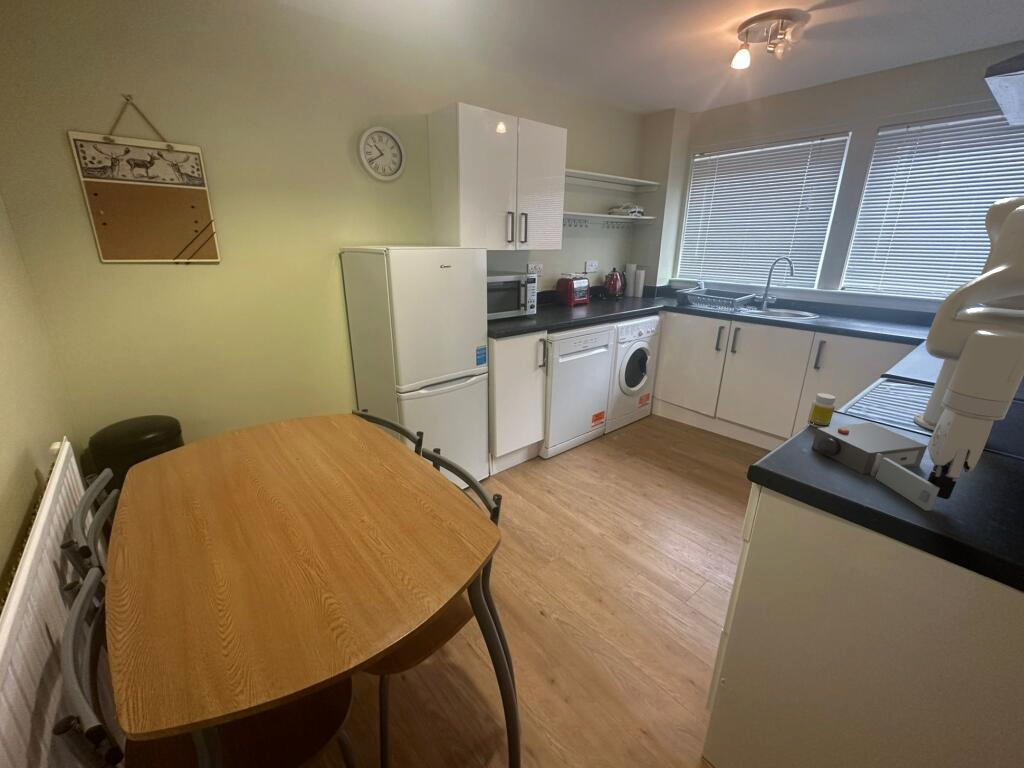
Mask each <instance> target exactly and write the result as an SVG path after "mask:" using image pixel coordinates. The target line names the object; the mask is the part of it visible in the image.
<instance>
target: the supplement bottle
mask: <svg viewBox="0 0 1024 768" xmlns="http://www.w3.org/2000/svg"><path fill="white" fill-rule="evenodd" d="M835 401H836V396H835V395H832V394H829V393H823V392H822V393H820V392H819V393H816V396H815V399H814V400H813V401H812V404H811V408H810V411H809V415H808V419H807V424H808V425H809V426H811V427H813V428H816V429H817V428H824V427H830V424H831V421H832V419H833V415H834V411H835V407H836V405H835V404H834V403H835ZM817 420H818V421H817ZM813 423H814V424H813ZM811 424H813V425H811Z"/></svg>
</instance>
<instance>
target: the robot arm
mask: <svg viewBox="0 0 1024 768" xmlns="http://www.w3.org/2000/svg"><path fill="white" fill-rule="evenodd" d="M984 226H985V229H986V232H987V237H988V238H989V243H990V244H989V245H990V248H989V251H988V256H987V258H986V260H985V263H984V266H983V268H982V270H981V273H980V275H979V276H977V277H975V278H973V279H970V280H969V281H967V282H966V283H964V284H962V285H960V286H959V287H957V288H956V289H955V290H953V291H952V292H951V293H949V294H948V295H947V297H945V299H943V300H942V302H941V304H940V306H939V307H938V309H937V311H936V313H935V316H934V318H933V321H932V323H931V326H930V328H929V331H928V333H927V336H926V340H925V350H926V352H927V353H928V354H929V355H930V356H931V357H933V358H935V359H940V360H943V362H942V365H941V368H940V370H939V373H938V376H937V378H936V380H935V384H934V386H933V389H932V391H931V395H930V396H929V400H928V403H927V405H926V407H925V410H924V412H923V413H918V414H916V415H914V416H913V422H914V423H915V424H917V425H918V426H920V427H923V428H925V429H927V430H931V431H933V432H932V434H931V437H930V439H929V440H928V443H927V451H928V455H929V457H930V460H931V462H932V463H933V467H932V470H931V471H930V473H929V476H928V477H927V481H928V482H930V483H932V484H934V485H935V486H937V487H939V488H940V489H939V491H938V494H937V496H936V498H941V499H943V500H949V499H950V498H951V495H952V493H953V491H954V489H955V486H956V484H957V482H958V480H959V478H960V475H961V473H962V471H964V472H965V473H971V472H974V469H975V467H977V464H978V462H979V459H980V458H981V455H982V454H983V451H984V448H985V446H986V443H987V441H988V438H989V436H990V433H991V432H992V431H991V430H992V427H993V424H994V421H1001V420H1002V421H1003V420H1004V419H1005V417H1006V415H1007V413H1008V411H1009V409H1010V407H1011V404H1012V402H1013V400H1014V397H1015V395H1016V394H1017V391H1018V389H1019V386H1020V385H1021V382H1022V380H1023V377H1024V196H1013V197H1007V198H1002V199H1000V200H998V201H995V202H994V203H993V204H991V205H990V207H989V208H988V210H987V212H986V214H985V221H984ZM977 304H978V305H981V306H983V307H972V306H973V305H977ZM968 307H971V308H968ZM966 308H967V309H966ZM962 310H963V311H962Z"/></svg>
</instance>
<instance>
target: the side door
mask: <svg viewBox="0 0 1024 768" xmlns="http://www.w3.org/2000/svg"><path fill="white" fill-rule="evenodd" d="M874 477H875V479H876V480H877V481H879V482H881V483H882V484H883V485H885V486H887V487H888V488H890V489H891V490H893V491H894V492H896V493H897V494H899V495H901V496H902V497H904V498H905V499H907V500H908V501H910V502H912V503H913V504H915V505H916V506H917V507H919V508H921V509H922V510H923V511H925V512H926V511H931V510H932V508H933V505H934V503H935V501H936V498H937V497H936V496H937V494H938V491H939V489H940V488H939V487H937V486H935V485H934V484H932V483H930V482H928V481H927V480H928V479H927V480H926V479H925V478H923V477H921V476H919V475H917V474H916V473H914V472H913V471H911V470H909V469H908V468H904V467H902V466H900V465H899V464H897V463H895V462H893V461H892V460H890V459H888V458H882V461H881V463H880V466H879V469H878V472H876V474H875V476H874Z"/></svg>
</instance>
